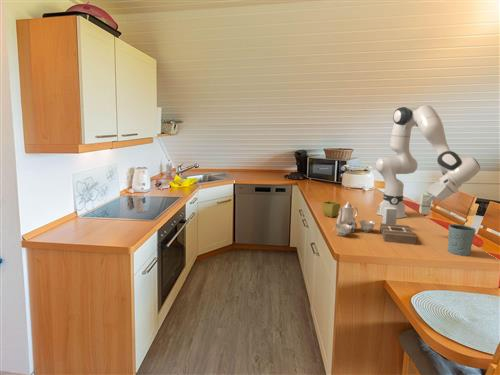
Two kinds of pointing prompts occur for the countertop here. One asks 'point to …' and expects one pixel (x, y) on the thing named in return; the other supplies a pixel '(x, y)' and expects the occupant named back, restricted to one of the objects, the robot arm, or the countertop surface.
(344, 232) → the chinaware
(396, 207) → the robot arm
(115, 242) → the countertop surface
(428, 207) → the sage peg
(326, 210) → the flower pot
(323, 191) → the countertop surface
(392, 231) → the socket board
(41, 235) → the countertop surface
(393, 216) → the skincare box
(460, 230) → the blue-grey embossed planter
